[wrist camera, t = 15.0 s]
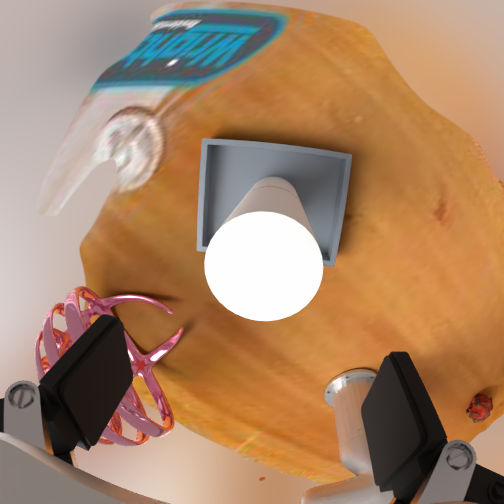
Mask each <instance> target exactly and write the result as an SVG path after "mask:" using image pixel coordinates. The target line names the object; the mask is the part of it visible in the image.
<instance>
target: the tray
mask: <svg viewBox="0 0 504 504" xmlns="http://www.w3.org/2000/svg"><path fill="white" fill-rule="evenodd" d="M351 162H352V154H347V153H341V152H335V151H329V150H323V149H316V148H309V147H301V146H294V145H285V144H276V143H266V142H255V141H242V140H226V139H204V138H202V148H201V162H200V178H199V197H198V220H197V251H202V252H206V251H207V248H208V246H209V243H210V241H211V239H212V238H213V236H214V235H215V233H216V232H217V231H218V229H219V228H220V227H221V226H222V224H223V223H224V222H225V221H226V219H227V218H228V217H229V215H230V214H231V213H232V212H233V210H234V209H235V208H236V207H237V205H238V204H239V203H240V202H241V200H242V199H243V198H244V197H245V195H246V194H247V193H248V192H249V190H250V189H251V188H252V187H253V186H254V184H255V183H257V182H258V181H259V180H261V179H263V178H265V177H270V176H275V177H280V178H283V179H285V180H287V181H288V182H290V184H291V185H292V186H293V187H294V189H295V190H296V193H297V195H298V197H299V200H300V202H301V204H302V207H303V209H304V211H305V214H306V216H307V219H308V221H309V223H310V226H311V228H312V231H313V233H314V236H315V238H316V241H317V243H318V246H319V249H320V252H321V255H322V261H323V266H332V267H334V266H335V261H336V256H337V251H338V246H339V240H340V235H341V229H342V224H343V218H344V212H345V205H346V199H347V192H348V185H349V178H350V170H351Z"/></svg>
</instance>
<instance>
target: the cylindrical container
mask: <svg viewBox="0 0 504 504" xmlns="http://www.w3.org/2000/svg"><path fill="white" fill-rule="evenodd" d="M322 274H323V261H322V255H321V252H320V249H319V246H318V243H317V241H316V238H315V236H314V233H313V231H312V228H311V226H310V223H309V221H308V219H307V216H306V214H305V211H304V209H303V207H302V204H301V202H300V200H299V197H298V195H297V193H296V190H295V189H294V187H293V186H292V185H291V184H290V182H288V181H287V180H285V179H283V178H280V177H275V176H270V177H265V178H263V179H261V180H259V181H258V182H257V183H255V184H254V186H253V187H252V188H251V189H250V190H249V192H248V193H247V194H246V195H245V197H244V198H243V199H242V200H241V202H240V203H239V204H238V205H237V207H236V208H235V209H234V210H233V212H232V213H231V214H230V215H229V217H228V218H227V219H226V221H225V222H224V223H223V224H222V226H221V227H220V228H219V229H218V231H217V232H216V233H215V235H214V236H213V238H212V239H211V241H210V243H209V246H208V248H207V251H206V256H205V275H206V278H207V282H208V285H209V287H210V289H211V291H212V293H213V294H214V295H215V297H216V298H217V299H218V301H219V302H220V303H221V304H223V305H224V306H225V307H226V308H227V309H229V310H230V311H232V312H233V313H235V314H237V315H240V316H242V317H244V318H248V319H252V320H258V321H272V320H279V319H282V318H285V317H289V316H291V315H293V314H295V313H297V312H298V311H300V310H301V309H302V308H304V307H305V306H306V305H307V304H308V303H309V302H310V301H311V300H312V299H313V297H314V295H315V294H316V292H317V290H318V288H319V286H320V283H321V280H322Z"/></svg>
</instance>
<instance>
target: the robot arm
mask: <svg viewBox="0 0 504 504" xmlns="http://www.w3.org/2000/svg"><path fill="white" fill-rule="evenodd" d="M132 381H133V371H132V367H131V362H130V358H129V353H128V348H127V343H126V338H125V333H124V327H123V323H122V322H120V320H119V318H118V317H116V316H112V315H108V314H102V315H101V316H100V317H99V318H98V319H97V320H96V321H95V322H94V323H93V324H92V325H91V326H90V327H89V328H88V329H87V330H86V331H85V332H84V333H83V334H82V335H81V336H80V337H79V338H78V339H77V341H76V342H75V343H74V344H73V345H72V346H71V347H70V348H69V349H68V350H67V351H66V352H65V353H64V354H63V355H62V357H61V358H60V359H59V360H58V361H57V362H56V363H55V364H54V365H53V366H52V367H51V369H50V370H49V371H48V372H47V373H46V374H45V375H44V376H43V378H42V379H41V380H40V381H39V382H40V385H39V386H38V387H37V386H36V385H35V384H34V383H32V382H30V381H18V382H16V383H14V384H12V385H11V386H10V387H9V388H8V389H7V391H6V393H5V398H3V399H0V504H169V503H166V502H162V501H159V500H156V499H152V498H149V497H146V496H143V495H140V494H137V493H134V492H132V491H129V490H126V489H124V488H121V487H118V486H116V485H113V484H111V483H109V482H106V481H104V480H102V479H100V478H97V477H95V476H93V475H91V474H89V473H86V472H84V471H82V470H80V469H78V465H77V462H76V458H75V454H74V451H73V450H74V448H75V447H76V445H77V446H79V447H81V448H83V449H85V450H88V451H89V449H90V447H91V446H94V445H95V444H97V442H98V440H99V438H100V437H101V435H102V433H103V431H104V430H105V428H106V426H107V424H108V423H109V421H110V419H111V417H112V416H113V414H114V412H115V411H116V409H117V407H118V405H119V404H120V402H121V400H122V399H123V397H124V395H125V394H126V392H127V390H128V389H129V387H130V385H131V384H132ZM324 397H325V401H326V402H327V404H328V405H329V406H331V407H333V408H334V415H335V422H336V429H337V437H338V445H339V453H340V459H341V462H342V464H343V465H344V466H345V467H346V468H347V469H348V470H349V471H350V472H352V473H354V474H355V475H357V476H356V477H353V478H350V479H348V480H344V481H340V482H336V483H331V484H327V485H322V486H318V487H314V488H311V489H309V490H307V491H306V492H305V493H304V494H303V496H302V499H301V504H504V476H502V475H500V474H497V473H495V472H493V471H491V470H489V469H487V468H484V467H482V466H480V465H478V464H476V452H475V451H474V449H473V447H472V446H471V445H470V444H469V443H467V442H465V441H462V440H453V441H450V442H449V443H448V442H447V439H446V438H447V436H446V433H445V431H444V428H443V426H442V424H441V421H440V419H439V417H438V415H437V412H436V410H435V408H434V406H433V403H432V401H431V399H430V397H429V395H428V393H427V391H426V388H425V386H424V384H423V382H422V380H421V378H420V376H419V374H418V372H417V370H416V368H415V366H414V364H413V362H412V360H411V358H410V356H409V354H408V353H407V352H391V353H390V354H389V356H386V357H385V358H384V360H383V362H382V365H381V367H380V369H379V371H378V373H375V372H374V371H371V370H367V369H355V370H350V371H347V372H344V373H342V374H340V375H338V376H336V377H335V378H334V379H332V380H331V381H330V382H329V383H328V385H327V386H326V388H325V392H324Z"/></svg>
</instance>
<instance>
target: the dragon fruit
mask: <svg viewBox="0 0 504 504" xmlns="http://www.w3.org/2000/svg"><path fill="white" fill-rule="evenodd" d="M492 409H493V403H492V398H491V397H488V396H486V395H482V394H477V396H476V398H474V399H473V400H472V403H471V404H470V406H469V408H468V409H467V410H466V414H467V413H469V412H470V414H469V417H470V418H472V419H473V422H474V423H476V422H483V421H484V420H485V419H486V418H487V417H488V416H490V411H491V410H492Z"/></svg>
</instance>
